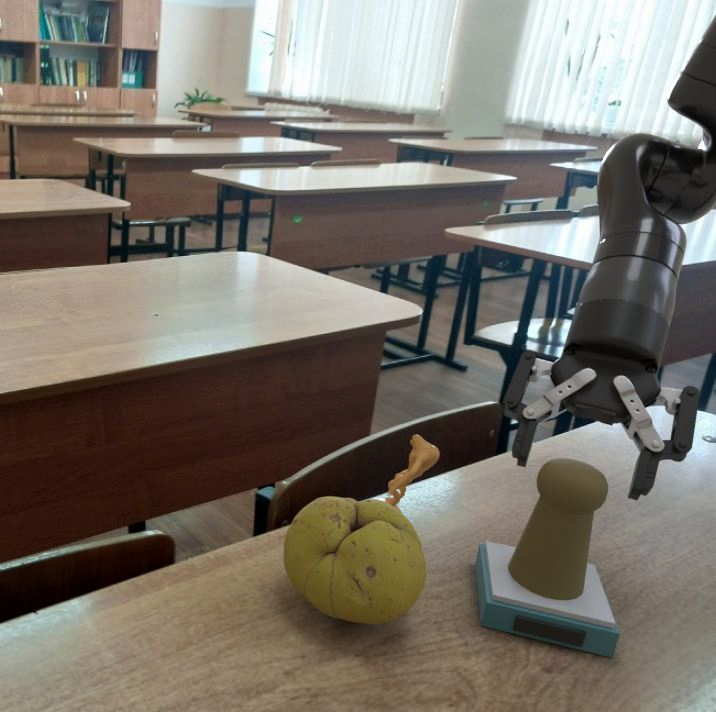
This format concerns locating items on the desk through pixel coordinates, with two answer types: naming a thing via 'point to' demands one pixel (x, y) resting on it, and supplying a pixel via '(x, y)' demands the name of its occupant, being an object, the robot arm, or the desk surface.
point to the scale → (543, 607)
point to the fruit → (355, 559)
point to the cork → (559, 530)
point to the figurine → (412, 469)
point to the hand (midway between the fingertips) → (576, 479)
